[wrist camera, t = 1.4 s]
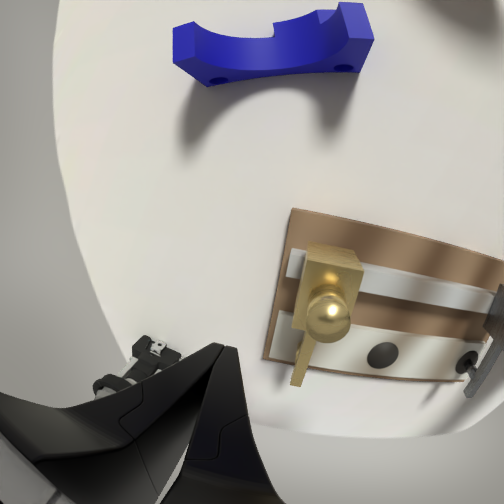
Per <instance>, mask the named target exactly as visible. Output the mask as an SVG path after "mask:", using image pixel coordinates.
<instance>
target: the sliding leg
mask: <svg viewBox="0 0 504 504" xmlns="http://www.w3.org/2000/svg"><path fill="white" fill-rule="evenodd" d="M363 275H364V269H363V267H362V265H361V263H360V261H359V259H358V258H357V256H356V254H355V252H354V250H350V249H346V248H341V247H336V246H331V245H326V244H321V243H316V242H311V241H308V245H307V250H306V255H305V260H304V265H303V269H302V274H301V279H300V283H299V288H298V292H297V296H296V302H295V308H294V315H293V320H292V326H291V328H294V329H299V330H304V331H305V333H304V337H303V340H302V341H300V342H299V343H298V344H297V350H296V358H295V366H294V370H293V373H292V376H291V381H290V385H292V386H297V387H301V384H302V381H303V379H304V376H305V373H306V370H307V367H308V364H309V362H310V359H311V356H312V353H313V350H314V347H315V344H316V341H318V342H320V343H334V342H337V341H339V340H341V339H342V338H344V337H345V336H346V335H347V333H348V332H349V330H350V326H351V320H350V317H351V314H352V311H353V308H354V305H355V302H356V298H357V295H358V292H359V289H360V285H361V282H362V279H363Z"/></svg>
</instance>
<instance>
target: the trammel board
mask: <svg viewBox="0 0 504 504" xmlns="http://www.w3.org/2000/svg"><path fill="white" fill-rule="evenodd" d="M308 241H311V242H316V243H321V244H326V245H331V246H336V247H341V248H346V249H350V250H354V252H355V254H356V256H357V258H358V259H359V261H360V263H361V265H362V267H363V269H364V275H363V279H362V282H361V285H360V289H359V292H358V295H357V298H356V302H355V305H354V308H353V311H352V314H351V317H350V320H351V326H350V330H349V332H348V333H347V335H346V336H345V337H344V338H342V339H341V340H339V341H337V342H334V343H320V342H318V341H316V344H315V347H314V350H313V353H312V356H311V359H310V362H309V364H308V367H307V368H311V369H317V370H323V371H329V372H336V373H342V374H350V375H357V376H366V377H375V378H385V379H396V380H411V381H433V382H464V380H466V379H467V377H468V376H469V375H468V373H467V371H466V370H465V368H464V366H463V364H464V362H465V361H466V360H467V359H471V360H472V362H473V363H474V365H475V364H476V363H477V361H478V359H479V357H480V355H481V354H482V352H483V350H484V348H485V346H486V342H487V340H488V338H489V336H490V335H489V333H488V332H487V331H486V330H485V329H484V328H483V324H484V322H485V319H486V317H487V315H488V312H489V310H490V308H491V305H492V303H493V300H494V298H495V295H496V292H497V290H498V287H499V284H500V283H501V284H504V261H503V260H500V259H497V258H494V257H491V256H488V255H484V254H481V253H478V252H475V251H471V250H468V249H465V248H461V247H458V246H455V245H451V244H448V243H444V242H440V241H437V240H433V239H429V238H426V237H422V236H418V235H414V234H410V233H406V232H402V231H398V230H394V229H390V228H386V227H382V226H378V225H373V224H369V223H365V222H360V221H356V220H351V219H347V218H342V217H337V216H332V215H328V214H323V213H318V212H313V211H308V210H302V209H297V208H292V210H291V216H290V222H289V227H288V233H287V239H286V244H285V250H284V255H283V261H282V266H281V271H280V277H279V282H278V287H277V292H276V297H275V302H274V307H273V312H272V317H271V322H270V327H269V331H268V336H267V341H266V346H265V350H264V355H263V359H266V360H271V361H276V362H280V363H285V364H290V365H295V358H296V350H297V344H298V343H299V342H300V341H302V340H303V337H304V333H305V331H304V330H299V329H294V328H291V326H292V320H293V315H294V308H295V302H296V296H297V292H298V288H299V283H300V279H301V274H302V269H303V265H304V260H305V255H306V250H307V245H308Z"/></svg>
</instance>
